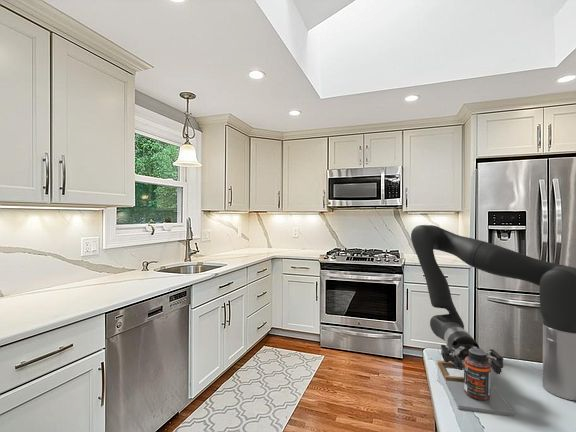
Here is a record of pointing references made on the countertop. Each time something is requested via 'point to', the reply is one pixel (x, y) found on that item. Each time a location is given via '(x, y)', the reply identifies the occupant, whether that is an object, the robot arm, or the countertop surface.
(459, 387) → the plate
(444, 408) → the countertop surface
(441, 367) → the walnut frame
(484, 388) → the supplement bottle
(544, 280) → the robot arm
